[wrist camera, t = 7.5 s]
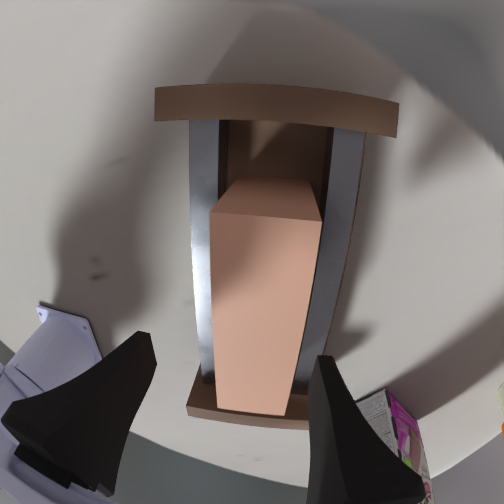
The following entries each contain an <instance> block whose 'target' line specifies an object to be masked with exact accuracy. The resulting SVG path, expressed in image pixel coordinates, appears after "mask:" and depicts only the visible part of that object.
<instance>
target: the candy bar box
mask: <svg viewBox="0 0 504 504" xmlns="http://www.w3.org/2000/svg"><path fill="white" fill-rule="evenodd" d="M355 403H356V405H357V406H358V408H359V409H360V411H361V413H362V414H363V416H364V417H365V419H366V420H367V422H368V423H369V424H370V426H371V427H372V428H373V430H374V431H375V432H376V433H377V435H378V436H379V437H380V438H381V440H382V441H383V442H384V443H385V444H386V445H387V446H388V447H389V448H390V449H391V450H392V451H393V452H394V454H395V455H396V456H398V457H399V458H400V459H401V460H402V461H403V462H404V463H405V464H406V465H408V466H409V467H410V468H411V469H412V470H414V471H415V472H416V473H418V474H419V475H420V476H422V480H423V483H424V486H425V492H426V497H425V498H424V500H423V501H421V502H420V503H418V504H435V501H434V495H433V489H432V484H431V479H430V475H429V470H428V465H427V460H426V456H425V452H424V447H423V443H422V439H421V435H420V431H419V427H418V423H417V421H416V420H415V419H414V418H413V417H412V416H411V415H410V414H409V413H408V412H407V411H406V410H405V408H404V407H403V406H402V405H401V404H400V403H399V402H398V401H397V400H396V399H395V398H394V397H393V396H392V394H391V393H390V392H389V391H388V390H387V389H386V388H384V389H382V390H380V391H377V392H375V393H373V394H372V395H370V396H368V397H366V398H364V399H362V400H360V401H357V402H355Z"/></svg>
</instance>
